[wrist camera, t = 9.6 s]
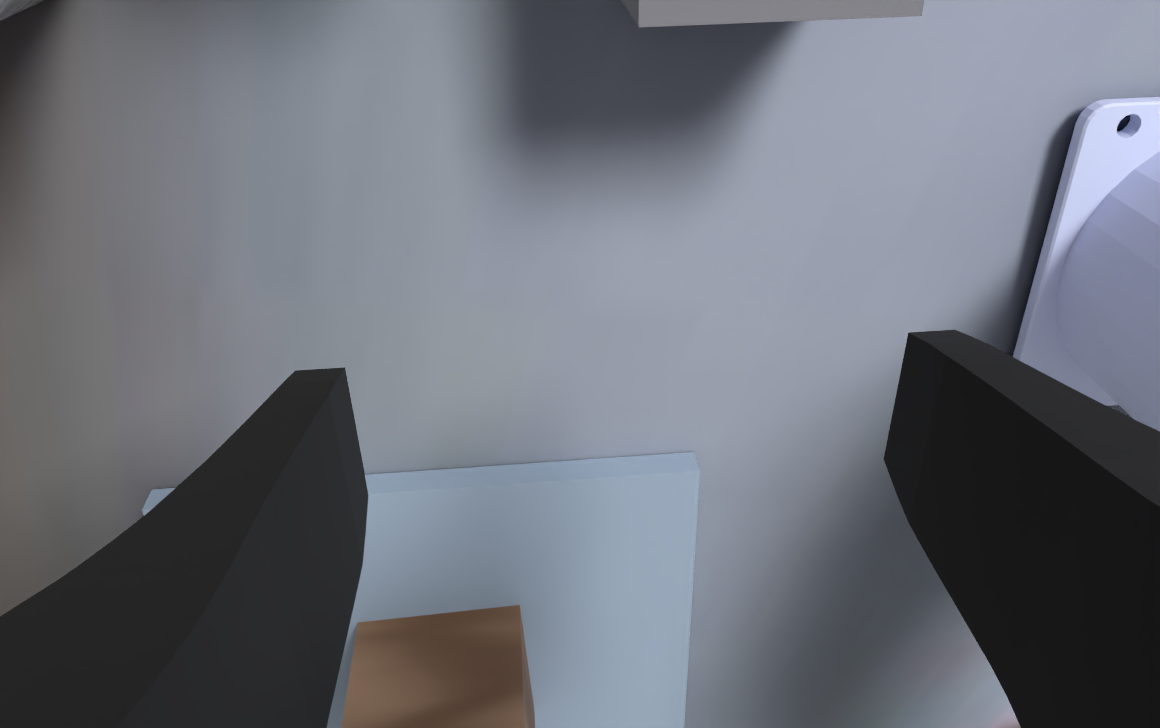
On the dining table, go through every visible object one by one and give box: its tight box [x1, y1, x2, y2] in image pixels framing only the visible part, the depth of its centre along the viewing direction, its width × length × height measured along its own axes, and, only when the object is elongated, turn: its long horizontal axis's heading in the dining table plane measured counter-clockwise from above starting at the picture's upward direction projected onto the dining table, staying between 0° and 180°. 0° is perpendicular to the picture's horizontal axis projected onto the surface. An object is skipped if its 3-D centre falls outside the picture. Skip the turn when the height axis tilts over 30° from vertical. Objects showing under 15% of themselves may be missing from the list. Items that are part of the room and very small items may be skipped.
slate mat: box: [142, 452, 700, 728], centre depth 27 cm, size 14×14×1 cm
